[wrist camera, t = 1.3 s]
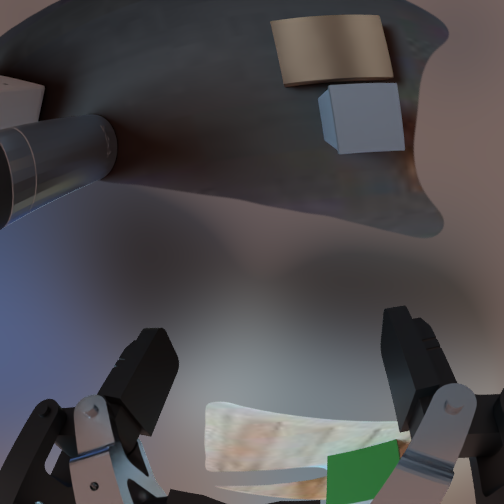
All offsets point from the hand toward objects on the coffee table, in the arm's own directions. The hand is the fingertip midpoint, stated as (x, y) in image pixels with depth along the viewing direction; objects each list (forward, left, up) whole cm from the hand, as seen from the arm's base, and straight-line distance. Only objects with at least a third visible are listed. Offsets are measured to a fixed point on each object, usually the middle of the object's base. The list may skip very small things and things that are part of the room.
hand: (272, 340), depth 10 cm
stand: (+7, +14, -24) cm, 29 cm away
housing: (+7, +7, -24) cm, 26 cm away
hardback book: (+13, -66, -25) cm, 72 cm away
